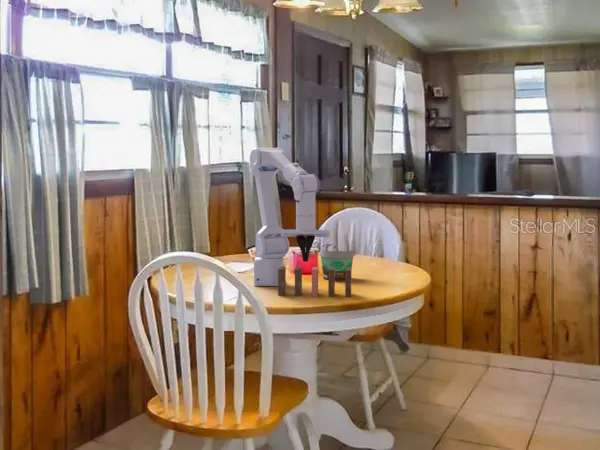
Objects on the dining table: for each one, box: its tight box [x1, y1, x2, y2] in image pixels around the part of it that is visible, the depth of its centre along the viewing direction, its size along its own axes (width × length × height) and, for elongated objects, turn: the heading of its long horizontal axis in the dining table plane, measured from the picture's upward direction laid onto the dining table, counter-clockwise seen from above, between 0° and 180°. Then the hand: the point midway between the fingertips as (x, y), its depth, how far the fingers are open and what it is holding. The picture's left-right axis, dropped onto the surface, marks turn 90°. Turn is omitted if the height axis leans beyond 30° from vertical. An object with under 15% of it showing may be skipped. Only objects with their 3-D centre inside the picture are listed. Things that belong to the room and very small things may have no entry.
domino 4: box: [327, 267, 336, 298], centre depth 212 cm, size 2×5×8 cm, turn 174°
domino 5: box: [344, 268, 352, 298], centre depth 212 cm, size 2×5×8 cm, turn 174°
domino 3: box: [311, 266, 319, 297], centre depth 213 cm, size 2×5×8 cm, turn 175°
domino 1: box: [277, 266, 287, 297], centre depth 214 cm, size 2×5×8 cm, turn 174°
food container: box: [318, 248, 356, 282], centre depth 237 cm, size 12×6×10 cm, turn 101°
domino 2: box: [294, 266, 303, 297], centre depth 213 cm, size 2×5×8 cm, turn 174°
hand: (305, 261), depth 211 cm, fingers closed
